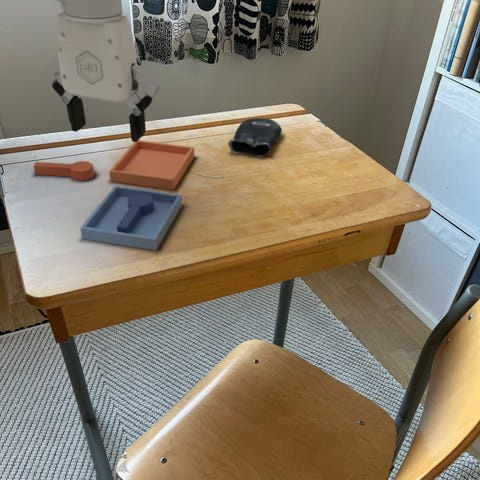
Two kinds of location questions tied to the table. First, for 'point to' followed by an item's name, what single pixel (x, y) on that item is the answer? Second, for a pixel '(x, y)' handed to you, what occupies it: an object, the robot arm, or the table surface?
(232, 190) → the table surface
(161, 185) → the terracotta tray
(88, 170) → the spoon terracotta
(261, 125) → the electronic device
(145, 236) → the blue tray
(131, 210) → the dark blue paddle
